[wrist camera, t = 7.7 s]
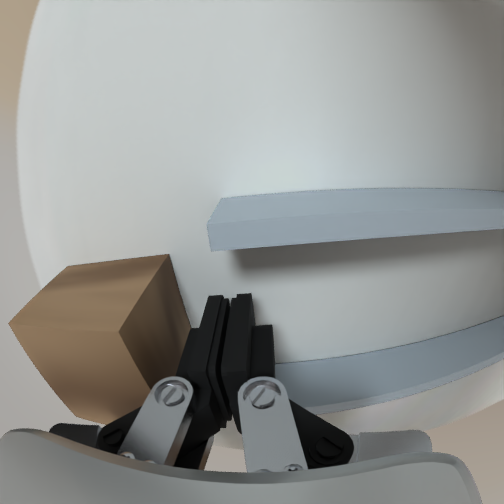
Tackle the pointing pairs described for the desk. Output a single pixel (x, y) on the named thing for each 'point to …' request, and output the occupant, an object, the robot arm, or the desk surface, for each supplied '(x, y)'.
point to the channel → (366, 227)
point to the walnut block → (106, 334)
